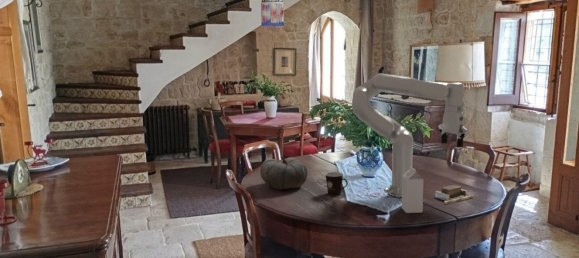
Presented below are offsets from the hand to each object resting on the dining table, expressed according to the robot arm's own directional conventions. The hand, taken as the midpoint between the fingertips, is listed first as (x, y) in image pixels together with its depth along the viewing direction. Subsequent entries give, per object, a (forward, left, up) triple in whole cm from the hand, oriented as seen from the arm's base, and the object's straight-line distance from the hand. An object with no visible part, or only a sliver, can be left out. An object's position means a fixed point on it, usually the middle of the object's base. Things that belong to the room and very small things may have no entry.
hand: (451, 144), depth 208 cm
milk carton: (-30, -7, -25) cm, 40 cm away
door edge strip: (-2, -8, -25) cm, 26 cm away
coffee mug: (-46, +29, -25) cm, 60 cm away
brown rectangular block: (-1, -2, -25) cm, 25 cm away
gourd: (-61, +55, -25) cm, 86 cm away
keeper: (-1, -2, -25) cm, 25 cm away
